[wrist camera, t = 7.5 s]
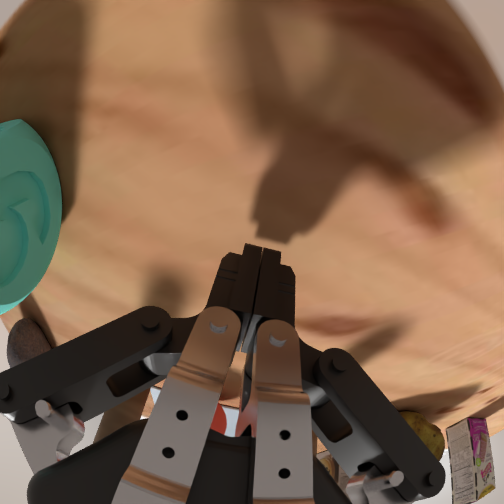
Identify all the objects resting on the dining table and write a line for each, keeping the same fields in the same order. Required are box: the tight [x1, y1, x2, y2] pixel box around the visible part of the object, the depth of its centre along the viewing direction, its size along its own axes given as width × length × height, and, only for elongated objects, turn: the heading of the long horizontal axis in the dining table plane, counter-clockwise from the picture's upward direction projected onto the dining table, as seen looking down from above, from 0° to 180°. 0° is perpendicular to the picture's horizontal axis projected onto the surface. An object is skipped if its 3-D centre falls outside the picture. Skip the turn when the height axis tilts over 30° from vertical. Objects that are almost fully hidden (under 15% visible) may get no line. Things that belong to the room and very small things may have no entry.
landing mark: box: [150, 386, 239, 437], centre depth 29 cm, size 14×14×1 cm
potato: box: [399, 411, 445, 461], centre depth 21 cm, size 8×13×8 cm, turn 47°
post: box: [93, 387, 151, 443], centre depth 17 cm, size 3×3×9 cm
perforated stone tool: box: [7, 318, 51, 368], centre depth 22 cm, size 15×5×7 cm, turn 154°
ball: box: [210, 403, 227, 434], centre depth 21 cm, size 6×6×6 cm
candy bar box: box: [446, 418, 495, 504], centre depth 23 cm, size 11×5×16 cm, turn 62°
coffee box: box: [316, 450, 352, 503], centre depth 29 cm, size 9×6×16 cm
